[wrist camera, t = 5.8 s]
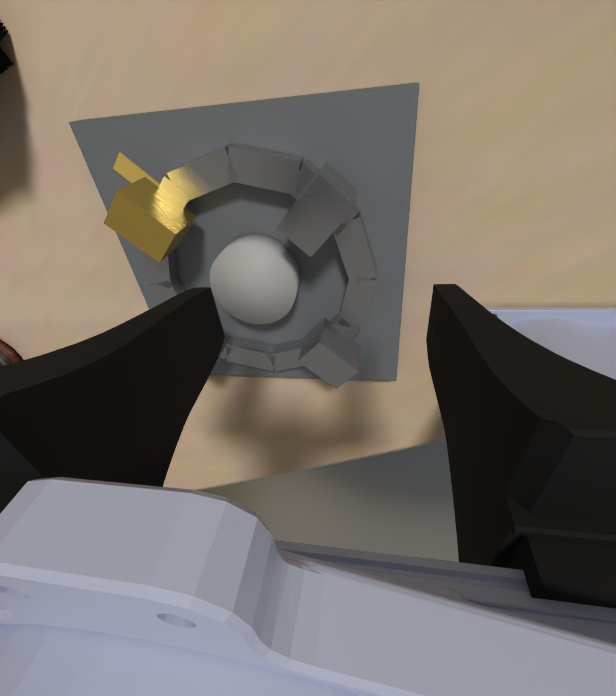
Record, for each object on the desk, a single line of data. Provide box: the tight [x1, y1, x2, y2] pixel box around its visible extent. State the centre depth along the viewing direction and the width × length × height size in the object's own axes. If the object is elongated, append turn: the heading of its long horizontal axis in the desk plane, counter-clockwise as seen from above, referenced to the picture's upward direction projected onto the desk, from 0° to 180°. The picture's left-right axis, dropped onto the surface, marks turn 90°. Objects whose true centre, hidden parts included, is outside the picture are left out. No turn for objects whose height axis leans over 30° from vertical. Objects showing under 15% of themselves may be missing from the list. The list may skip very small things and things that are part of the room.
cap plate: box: [69, 83, 419, 381], centre depth 21 cm, size 17×17×3 cm
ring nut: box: [104, 143, 377, 388], centre depth 20 cm, size 15×15×4 cm
